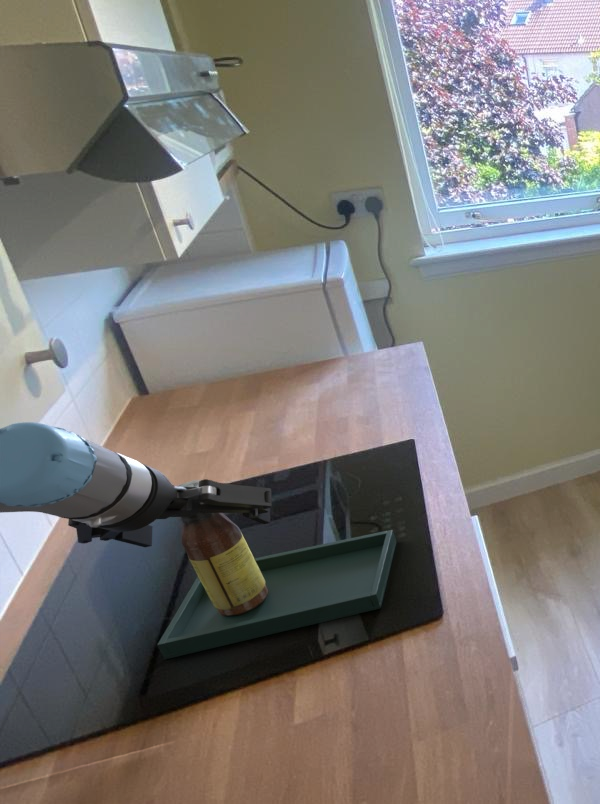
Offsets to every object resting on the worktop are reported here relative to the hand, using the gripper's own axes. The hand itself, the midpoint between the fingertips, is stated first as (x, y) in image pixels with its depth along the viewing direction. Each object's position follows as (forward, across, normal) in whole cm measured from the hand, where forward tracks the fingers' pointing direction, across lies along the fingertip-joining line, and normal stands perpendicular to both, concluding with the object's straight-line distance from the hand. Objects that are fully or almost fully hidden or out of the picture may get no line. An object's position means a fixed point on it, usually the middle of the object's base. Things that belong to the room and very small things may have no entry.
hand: (209, 525), depth 100 cm
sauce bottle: (+9, 0, -10) cm, 13 cm away
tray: (+9, +6, -10) cm, 15 cm away
